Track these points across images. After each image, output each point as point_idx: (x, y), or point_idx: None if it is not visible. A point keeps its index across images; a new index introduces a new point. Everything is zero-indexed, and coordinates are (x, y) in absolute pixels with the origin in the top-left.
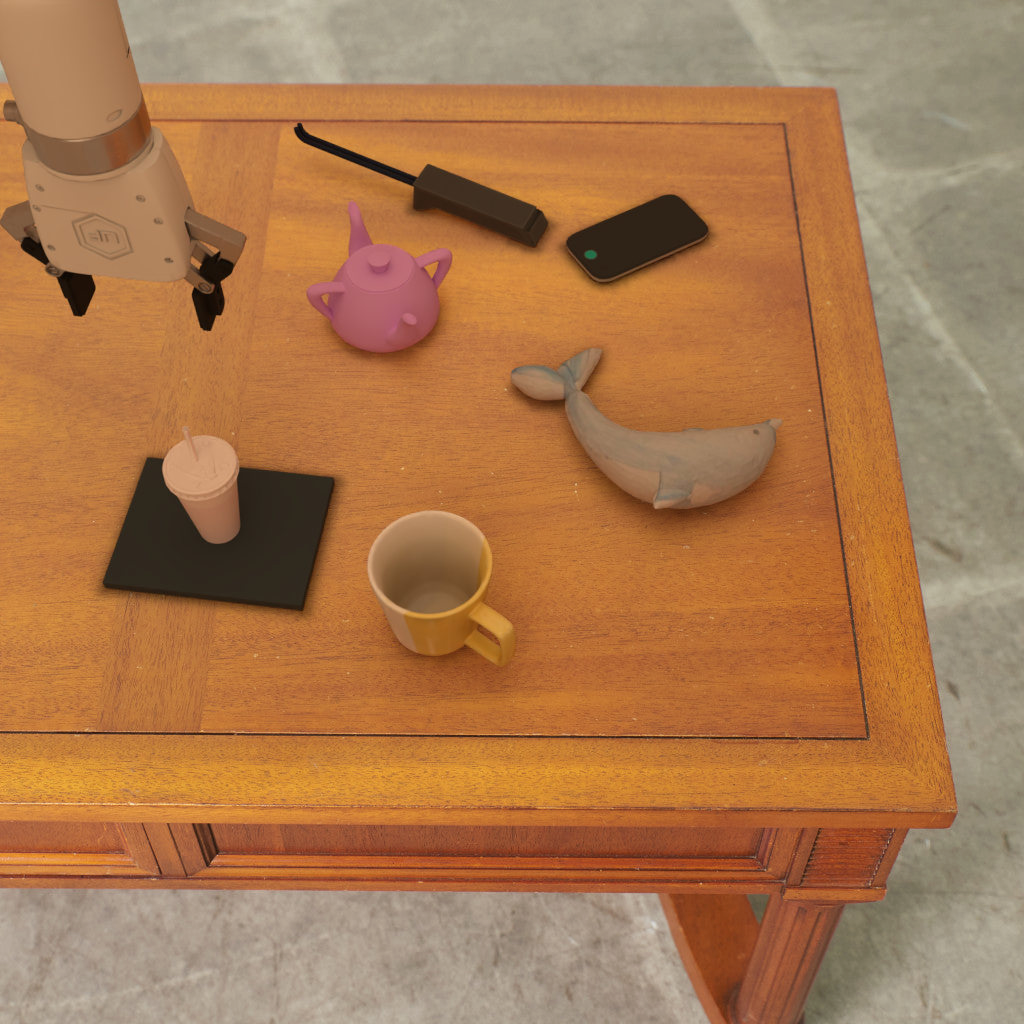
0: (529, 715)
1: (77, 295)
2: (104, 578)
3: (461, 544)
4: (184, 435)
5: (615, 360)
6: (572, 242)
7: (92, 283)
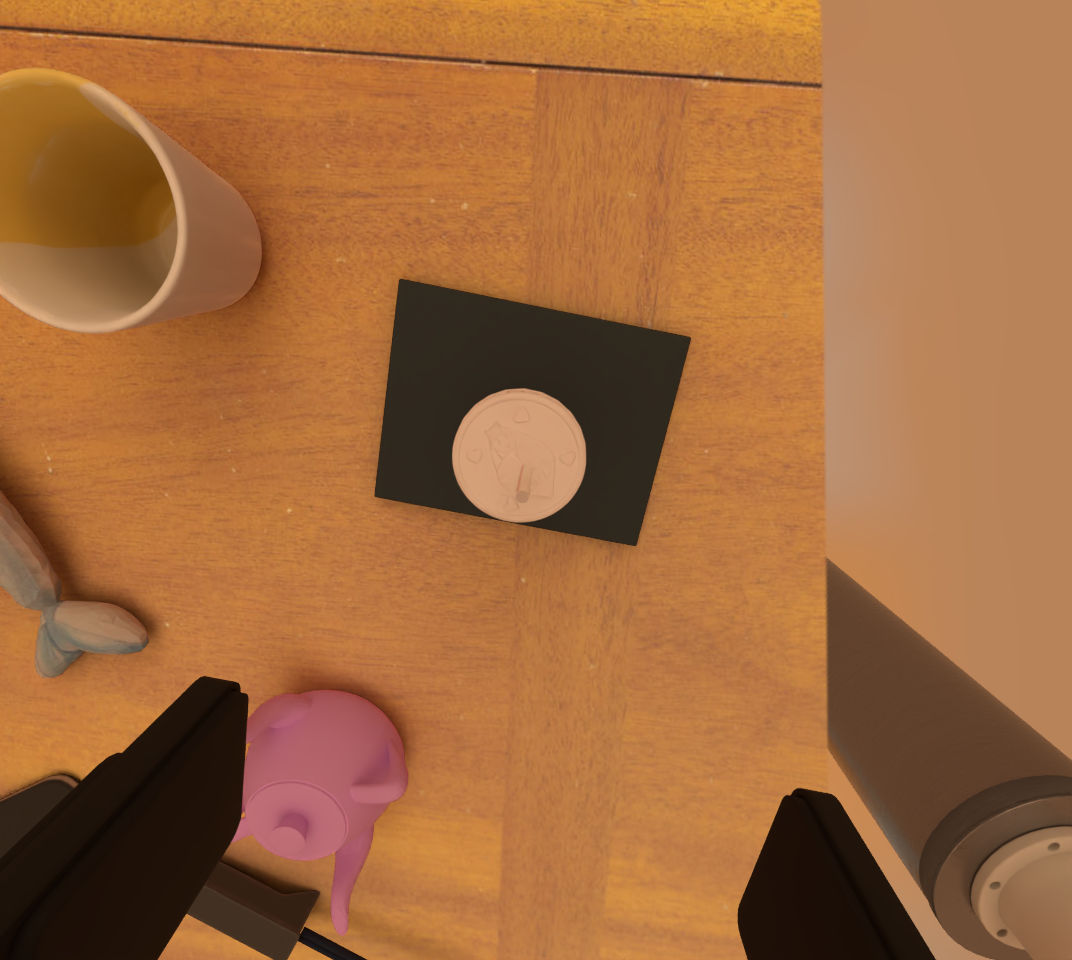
0: None
1: (850, 931)
2: (688, 344)
3: (72, 291)
4: (527, 486)
5: (29, 659)
6: None
7: (755, 955)
